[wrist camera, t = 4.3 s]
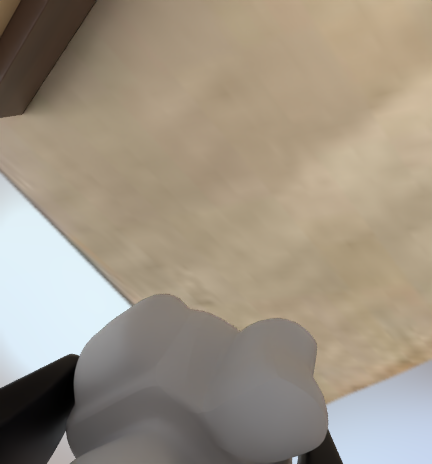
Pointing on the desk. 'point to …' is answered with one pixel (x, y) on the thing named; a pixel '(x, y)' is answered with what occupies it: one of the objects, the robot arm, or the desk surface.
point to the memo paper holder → (33, 45)
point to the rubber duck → (195, 390)
